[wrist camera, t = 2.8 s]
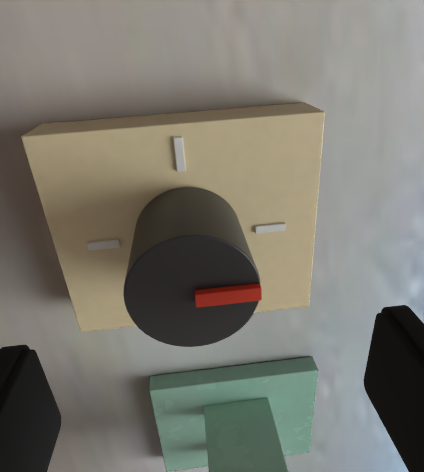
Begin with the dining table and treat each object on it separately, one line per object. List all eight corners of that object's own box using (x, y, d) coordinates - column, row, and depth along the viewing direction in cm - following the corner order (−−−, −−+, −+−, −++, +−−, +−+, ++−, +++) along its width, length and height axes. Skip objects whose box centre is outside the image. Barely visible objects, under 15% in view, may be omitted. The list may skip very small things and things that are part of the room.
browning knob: (143, 284, 18) (134, 360, 13) (126, 191, 15) (109, 248, 11) (241, 274, 18) (263, 345, 14) (239, 181, 16) (263, 232, 11)
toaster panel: (90, 302, 21) (79, 335, 19) (40, 123, 16) (18, 137, 14) (295, 279, 22) (310, 308, 19) (305, 102, 17) (326, 111, 15)
